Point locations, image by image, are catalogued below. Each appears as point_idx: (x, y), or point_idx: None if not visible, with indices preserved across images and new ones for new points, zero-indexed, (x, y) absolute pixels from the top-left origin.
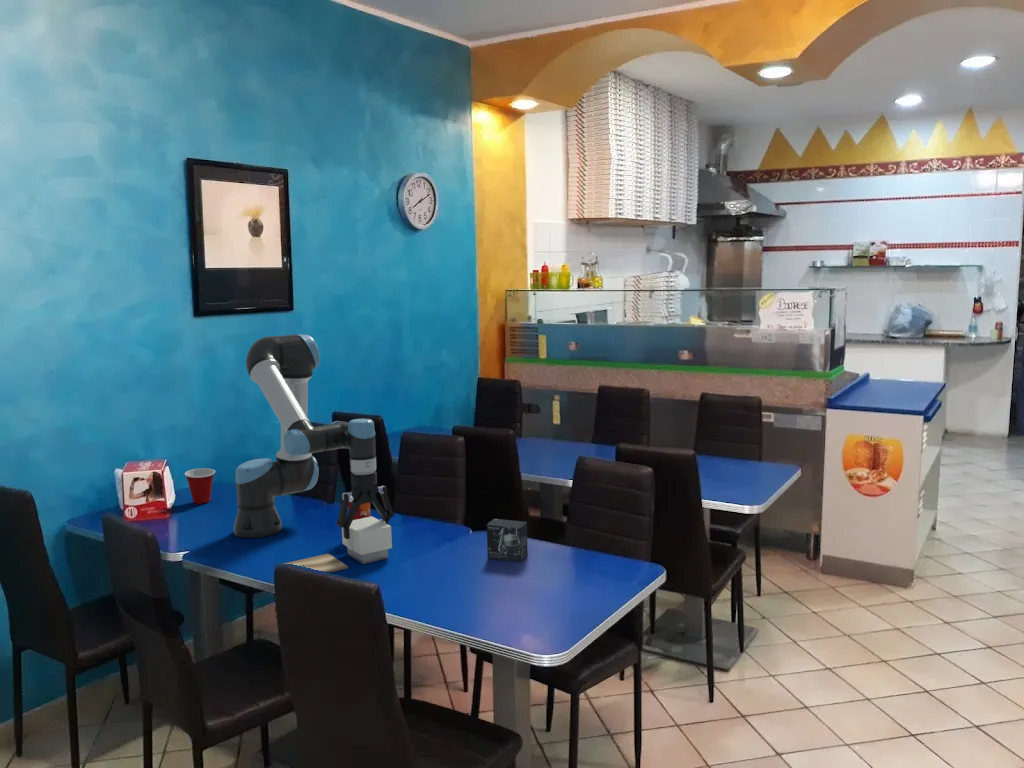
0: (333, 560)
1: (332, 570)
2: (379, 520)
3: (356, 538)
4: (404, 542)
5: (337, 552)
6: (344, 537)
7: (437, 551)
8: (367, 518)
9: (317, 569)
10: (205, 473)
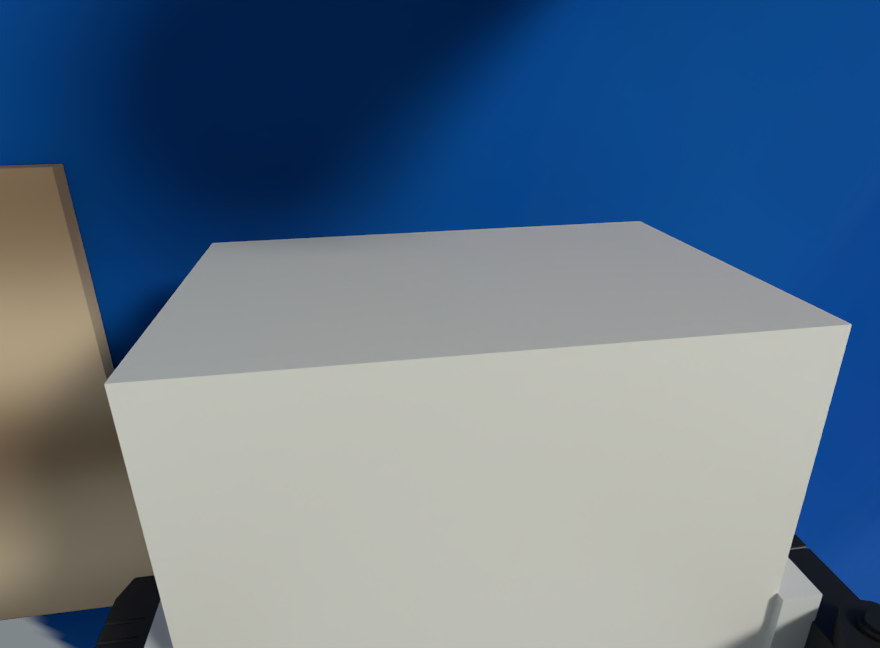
0: (65, 416)
1: (15, 613)
2: (768, 603)
3: None
4: (867, 242)
5: (190, 116)
6: (129, 593)
7: (861, 560)
8: (702, 409)
9: None
10: None
